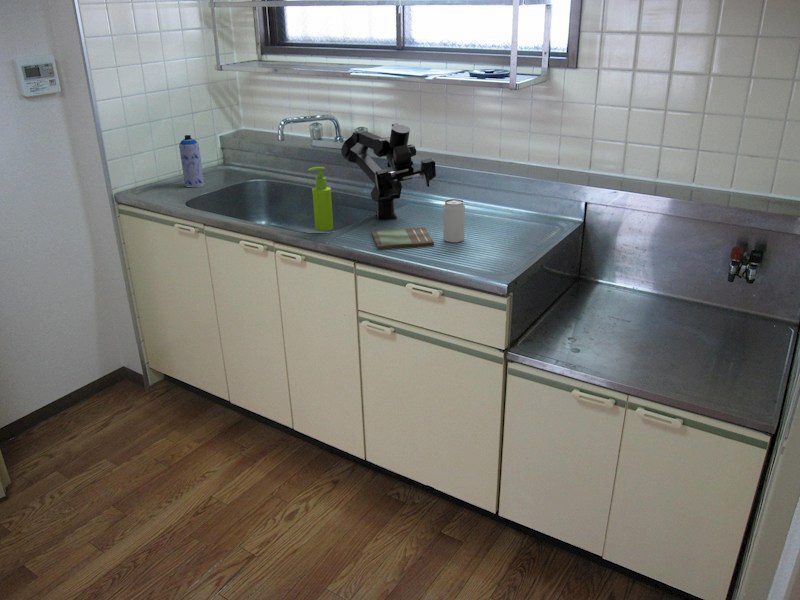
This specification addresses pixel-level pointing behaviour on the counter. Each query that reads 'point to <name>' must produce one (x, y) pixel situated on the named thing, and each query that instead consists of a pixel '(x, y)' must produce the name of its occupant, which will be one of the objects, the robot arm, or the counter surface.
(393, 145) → the robot arm
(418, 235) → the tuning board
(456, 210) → the can
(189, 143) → the aerosol can
